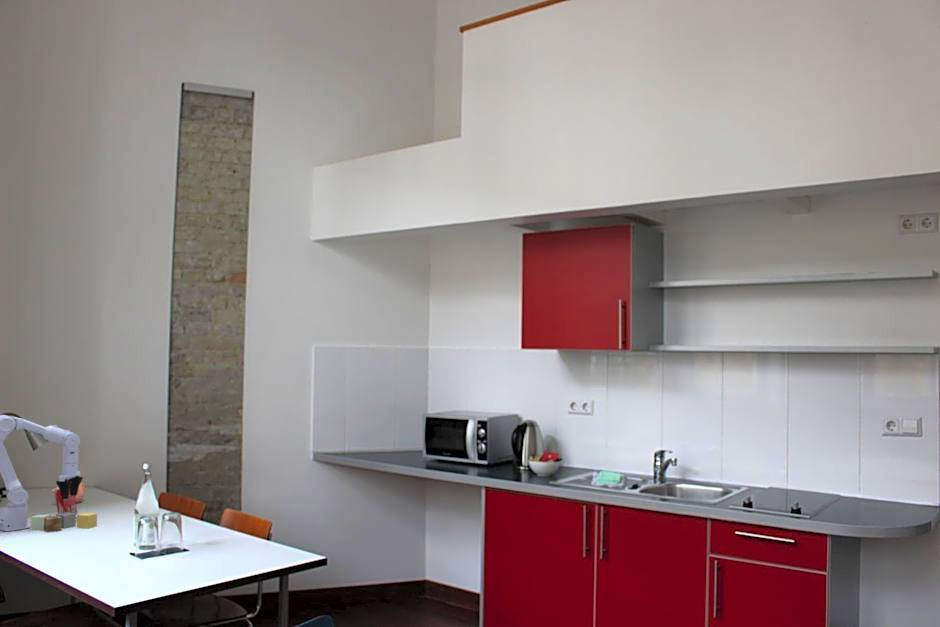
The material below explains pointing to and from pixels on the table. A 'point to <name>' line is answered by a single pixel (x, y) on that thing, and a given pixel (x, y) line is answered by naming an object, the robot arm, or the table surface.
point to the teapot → (79, 493)
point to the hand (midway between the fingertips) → (69, 497)
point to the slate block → (67, 519)
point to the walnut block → (53, 523)
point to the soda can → (65, 503)
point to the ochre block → (87, 520)
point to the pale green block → (38, 522)
